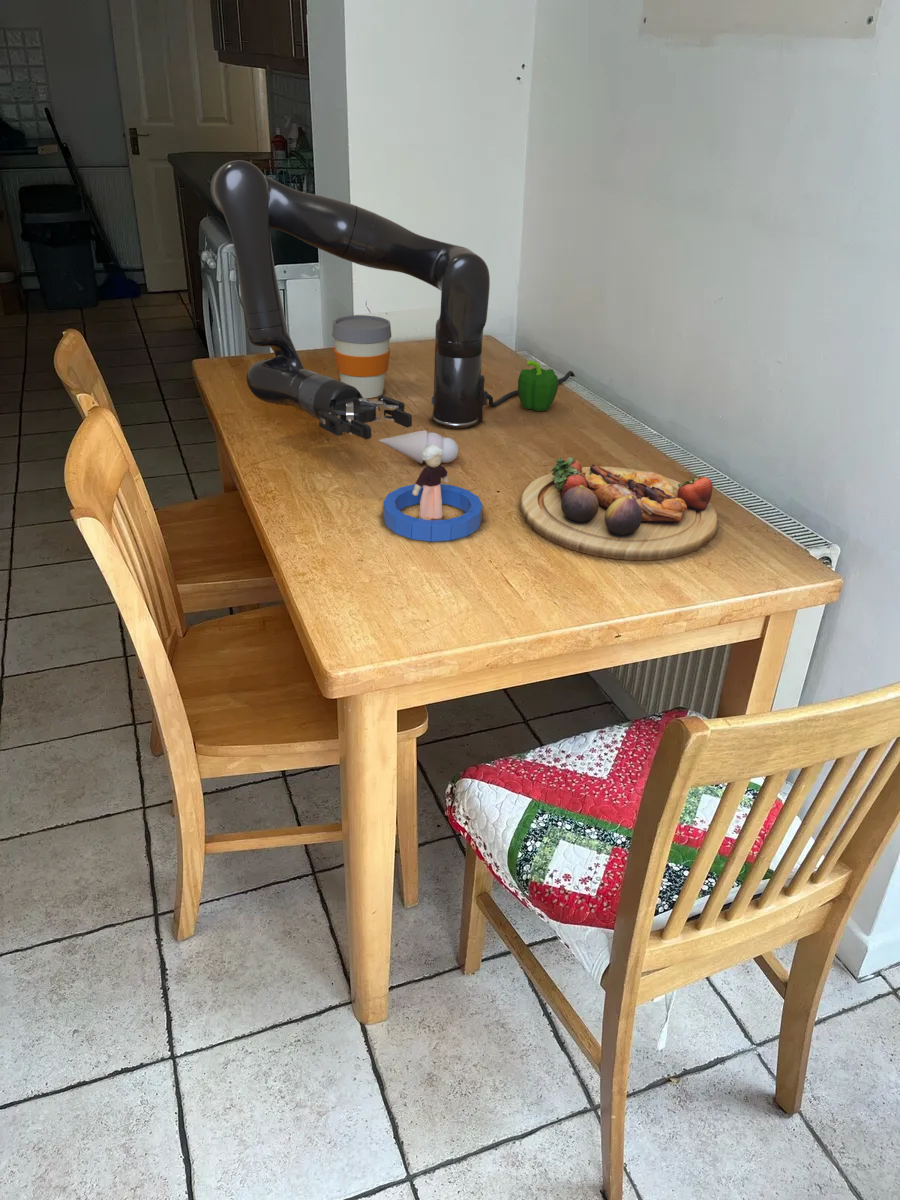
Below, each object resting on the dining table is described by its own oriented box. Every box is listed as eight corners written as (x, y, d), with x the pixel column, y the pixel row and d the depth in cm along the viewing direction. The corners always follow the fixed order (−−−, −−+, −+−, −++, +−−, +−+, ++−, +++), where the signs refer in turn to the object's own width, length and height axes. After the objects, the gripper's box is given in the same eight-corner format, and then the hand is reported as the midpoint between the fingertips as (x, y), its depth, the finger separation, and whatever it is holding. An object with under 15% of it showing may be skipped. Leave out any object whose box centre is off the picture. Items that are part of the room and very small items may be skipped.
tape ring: (447, 491, 155) (447, 476, 154) (500, 527, 144) (501, 511, 143) (366, 510, 148) (366, 494, 146) (416, 550, 137) (416, 533, 135)
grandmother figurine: (428, 531, 142) (430, 455, 136) (408, 524, 144) (409, 449, 138) (454, 513, 148) (457, 440, 141) (434, 507, 150) (437, 434, 143)
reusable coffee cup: (402, 390, 201) (403, 321, 193) (368, 405, 192) (367, 333, 184) (357, 379, 206) (356, 311, 198) (322, 393, 197) (319, 323, 189)
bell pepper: (561, 406, 196) (566, 360, 190) (547, 417, 189) (551, 369, 184) (525, 398, 199) (529, 353, 194) (510, 409, 192) (513, 363, 187)
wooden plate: (712, 490, 160) (721, 445, 156) (720, 576, 133) (732, 526, 129) (532, 469, 165) (536, 425, 161) (505, 548, 138) (509, 499, 134)
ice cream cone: (373, 461, 165) (453, 472, 168) (378, 451, 159) (460, 463, 162) (376, 429, 166) (455, 441, 169) (381, 418, 160) (463, 430, 163)
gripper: (294, 387, 150) (354, 414, 140) (362, 371, 159) (423, 395, 149) (297, 430, 154) (356, 459, 144) (363, 413, 163) (423, 439, 153)
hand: (390, 427), depth 146 cm, fingers open, 8 cm apart
